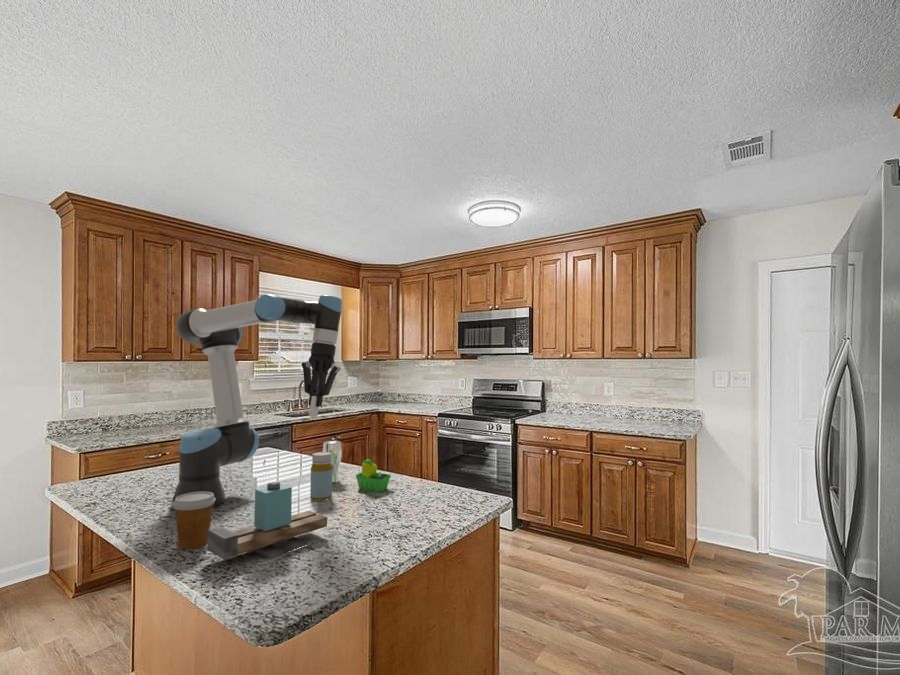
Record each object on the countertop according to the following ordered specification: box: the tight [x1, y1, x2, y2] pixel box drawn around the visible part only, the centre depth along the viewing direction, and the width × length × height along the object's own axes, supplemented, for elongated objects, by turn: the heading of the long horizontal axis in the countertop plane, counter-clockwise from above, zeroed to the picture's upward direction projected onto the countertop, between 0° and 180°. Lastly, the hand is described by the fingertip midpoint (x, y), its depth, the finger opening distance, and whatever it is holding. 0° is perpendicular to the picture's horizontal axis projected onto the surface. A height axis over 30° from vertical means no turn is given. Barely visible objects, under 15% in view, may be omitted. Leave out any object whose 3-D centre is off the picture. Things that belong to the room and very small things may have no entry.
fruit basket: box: [355, 458, 392, 493], centre depth 169 cm, size 11×9×11 cm
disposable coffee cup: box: [173, 492, 216, 550], centre depth 118 cm, size 10×10×12 cm
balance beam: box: [206, 510, 328, 561], centre depth 116 cm, size 27×12×7 cm, turn 140°
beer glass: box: [322, 440, 342, 483], centre depth 180 cm, size 7×7×15 cm
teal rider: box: [253, 481, 293, 531], centre depth 116 cm, size 7×5×12 cm
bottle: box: [309, 451, 333, 501], centre depth 158 cm, size 7×7×15 cm
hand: (313, 416), depth 149 cm, fingers closed
